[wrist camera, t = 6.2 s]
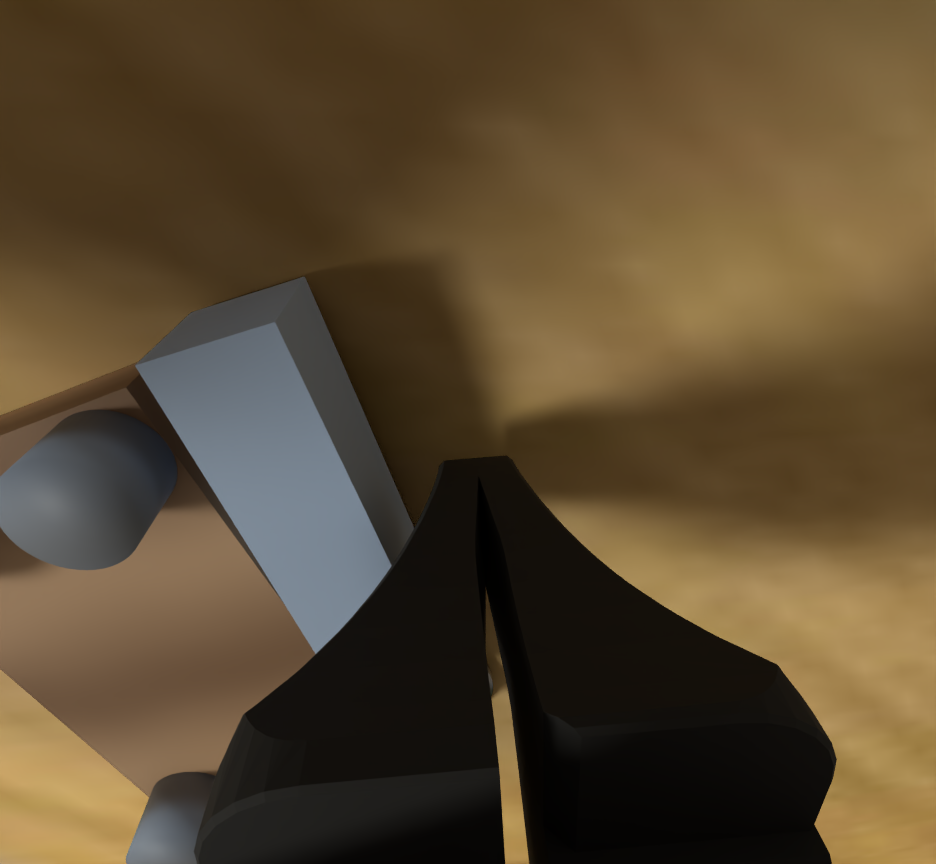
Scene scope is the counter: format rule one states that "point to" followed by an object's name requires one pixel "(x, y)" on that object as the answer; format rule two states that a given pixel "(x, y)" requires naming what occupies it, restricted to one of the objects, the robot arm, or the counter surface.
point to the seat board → (133, 598)
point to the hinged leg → (284, 448)
